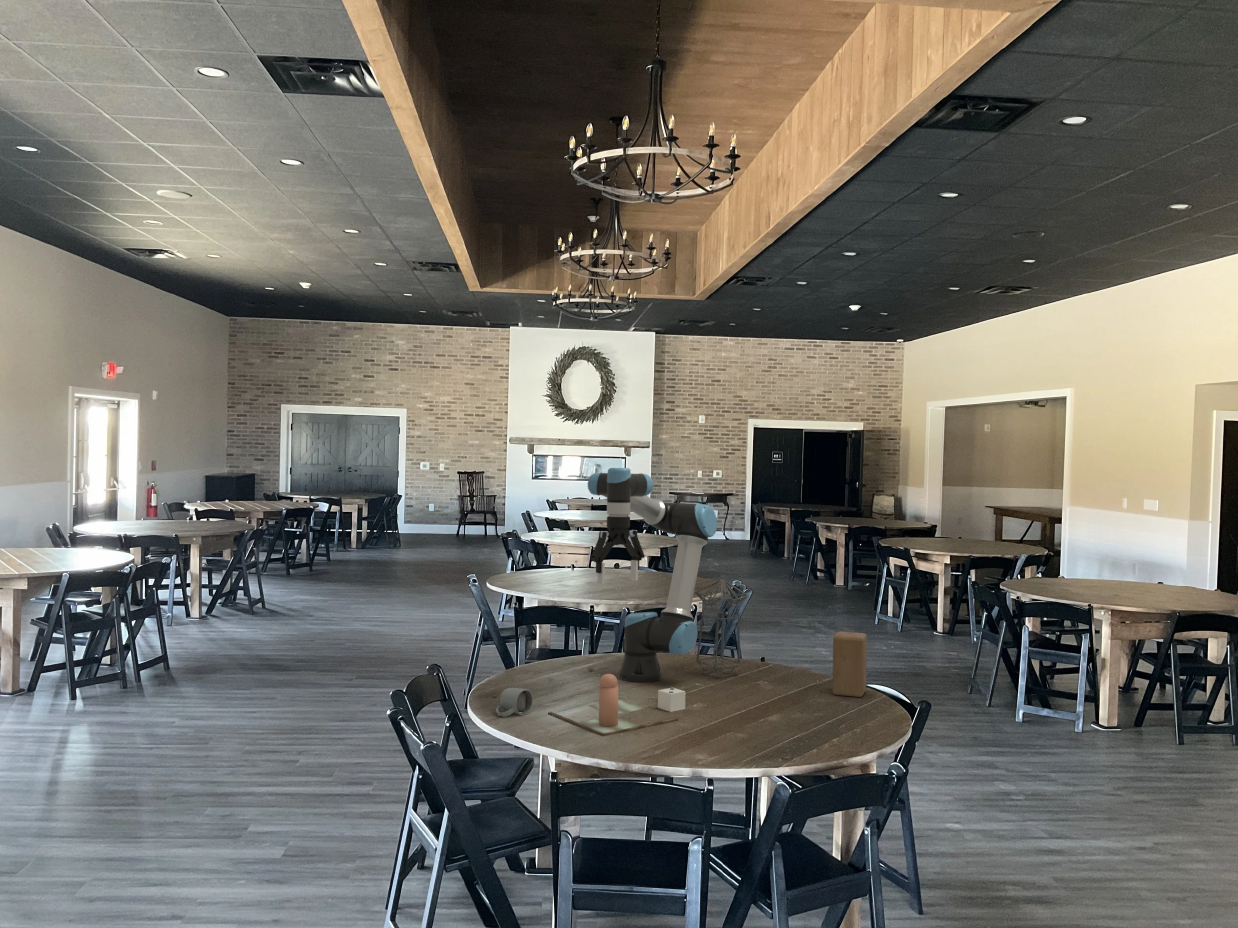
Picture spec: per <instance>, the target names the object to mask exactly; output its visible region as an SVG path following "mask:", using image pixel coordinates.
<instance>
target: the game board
mask: <svg viewBox="0 0 1238 928" xmlns="http://www.w3.org/2000/svg"><path fill="white" fill-rule="evenodd" d="M587 706H588V707H591V708H594V709H596V710H598V711H599V703H594V704H588V705H587ZM644 709H645V710H646V709H647V708H646V707H645V706H644V707H643V706H641V705H638V704H635V703H631V702H628V701H625V700H624V699H618V715H620V714H624V713H628V712H629V713H630V712H635V711H639V710H644ZM547 714H548V715H549V714H550V716H552V715H553V716H552V717H554V716H555V717H554V718H557V719H559V720H562V721H565V722H567V723H570V724H572V725H575V726H577V727H579V728H582V729H585V730H587V731H589V732H592V733H594V734H597V735H600V736H601V737H606V736H610V735H614V734H615V735H616V734H618V733H625V732H630V731H634V730H640V729H644V728H649V727H654V726H658V725H664V724H667V723H672V722H678V721H679V718H677V717H673V718H668V719H664V720H659V721H655V722H650V723H644V724H640V725H639V724H636V723H633V722H630V721H628V720H626V719H621V718H619V717H618V725H617V726H613V727H604V726H600V725H599V718H594V719H590V720H585V721H579V722H578V721H575V720H573V719H570V718H567V717H565V716H562V715H560V714H557V713H554V712H552V711H549V712H547Z"/></svg>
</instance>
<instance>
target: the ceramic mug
mask: <svg viewBox="0 0 1238 928" xmlns="http://www.w3.org/2000/svg"><path fill="white" fill-rule="evenodd" d="M498 701H499V705H498V706H497V707H496V710H495V712H496V715H497V716H498V717H499V716H502V717H501V718H506V717H509V716H511V715H512V714H516V715H519V716H524V715H523V714H525V715H527V714H528V713H530V711H531V709H532V707H533V702H534V697H533V694H532V692H531V690H529V689H527V688H516V687H508V688H504V689H503V690H502V691H501V693H500V695H499V700H498ZM501 710H503V712H500V711H501ZM519 712H522V713H519Z"/></svg>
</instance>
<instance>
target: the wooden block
mask: <svg viewBox="0 0 1238 928" xmlns="http://www.w3.org/2000/svg"><path fill="white" fill-rule="evenodd" d="M867 640H868V637H867V634H866V633H864V632H853V631H841V630H840V631H837V632H836V633H835V634H834V635H833V637H832V694H833V695H836V696H845V697H852V698H853V697H855V698H862V697H863V696H864V694H865V693H866V690H867V659H868V658H867V653H868V652H867V648H868V641H867Z"/></svg>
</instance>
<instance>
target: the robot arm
mask: <svg viewBox="0 0 1238 928" xmlns="http://www.w3.org/2000/svg"><path fill="white" fill-rule="evenodd" d="M587 489H588V491H589V493H590V494H591V495H593V496H598V497H599V496H603V497H605V498H607V499H606V514H607V515H608V516H607V517H606V528H607V531H603V530H601V531H599V533H598V537H597V541H596V543H595V546H594V549H593V551H592V554H591V556H590V562H591V561H592V562H594V563H595V572H596V574H597V578H596V579H597V582H596V583H597V584H602V585H604V584H605V575H606V573H605V569H606V568H605V564H606V563H604V560H605V559H606V557H607V556H608V554H609V553H610V551H611V550H612V548H614V546H619V545H621V546H624V548H625V549H626V551H627V552H628V553H629V555H630V557H631V558H632V559H631V560H630V581H633V582H634V581H635V582H637V581H638V580H639V570H640V561H642V559H644V558H645V556H646V555H645V553H644V550H643V548H642V546H641V542H640V540H639V537H638V530H635V529H630V527H631V517H630V516H629V515H631V512H632V513H634V514H636V516H637V515H638V516H639V517H641V518H642V519H643V521H644V523H646V524H647V525H650V526H651V527H654V528H655V529H658V530H660V531H662V532H664V533H667V534H670V535H675V539H676V541H677V543H678V545H677V549H676V556H675V559H674V566H673V572H672V576H671V581H670V585H669V592H668V597H667V601H666V608H664V609H662V610H661V612H660V615H658V613H657V612H655V611H647V612H636V613H630V614H627V616H626V617H625V619H624V626H623V628H624V650H623V651H624V653H623V654H624V655H623V658H622V662H621V666H620V669H619V670H618V671H619V673H618V677H620V678H619V679H621V678H622V679H621V680H623V679H625V680H624V681H626V680H629V681H628V682H633V681H636V682H637V683H647V682H648V683H649V682H656V681H659V680H661V679H662V670H661V666H660V663H659V659H658V657H657V656H658V655H657V653H658V652H662V653H668V654H671V655H672V654H673V655H686V654H688V653H689V652H690V651H691V650H692V649H693V648H694V647H695V644H696V642H697V639H698V626H697V624H696V623H695V622H694V617H693V614H692V613H691V610H692V604H693V599H694V595H695V594H694V592H695V590H696V589H695V588H696V584H697V583H696V582H697V577H698V571H699V566H700V562H701V555H702V549H703V547H705V545H707V544H708V540H709V538H712V537H714V536H715V534H716V532H717V528H718V521H717V520H718V519H717V515H716V512H715V510H714V509H713V507H711V506H710V505H708V504H705V503H704V504H702V503H683V502H666V501H662V500H660V499H656V498H655V499H653V498H651V497H650V496H649V495H650V494H651V493H652V491H653V489H654V482H653V479H652V477H651V476H650V475H649V474H646V473H642V472H641V473H631V468H629V467H610V468H608V470H607V472H595V473H594V472H593V473H592V474H591V475H590V476H589V478H588V481H587ZM636 682H635V683H636Z"/></svg>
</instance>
